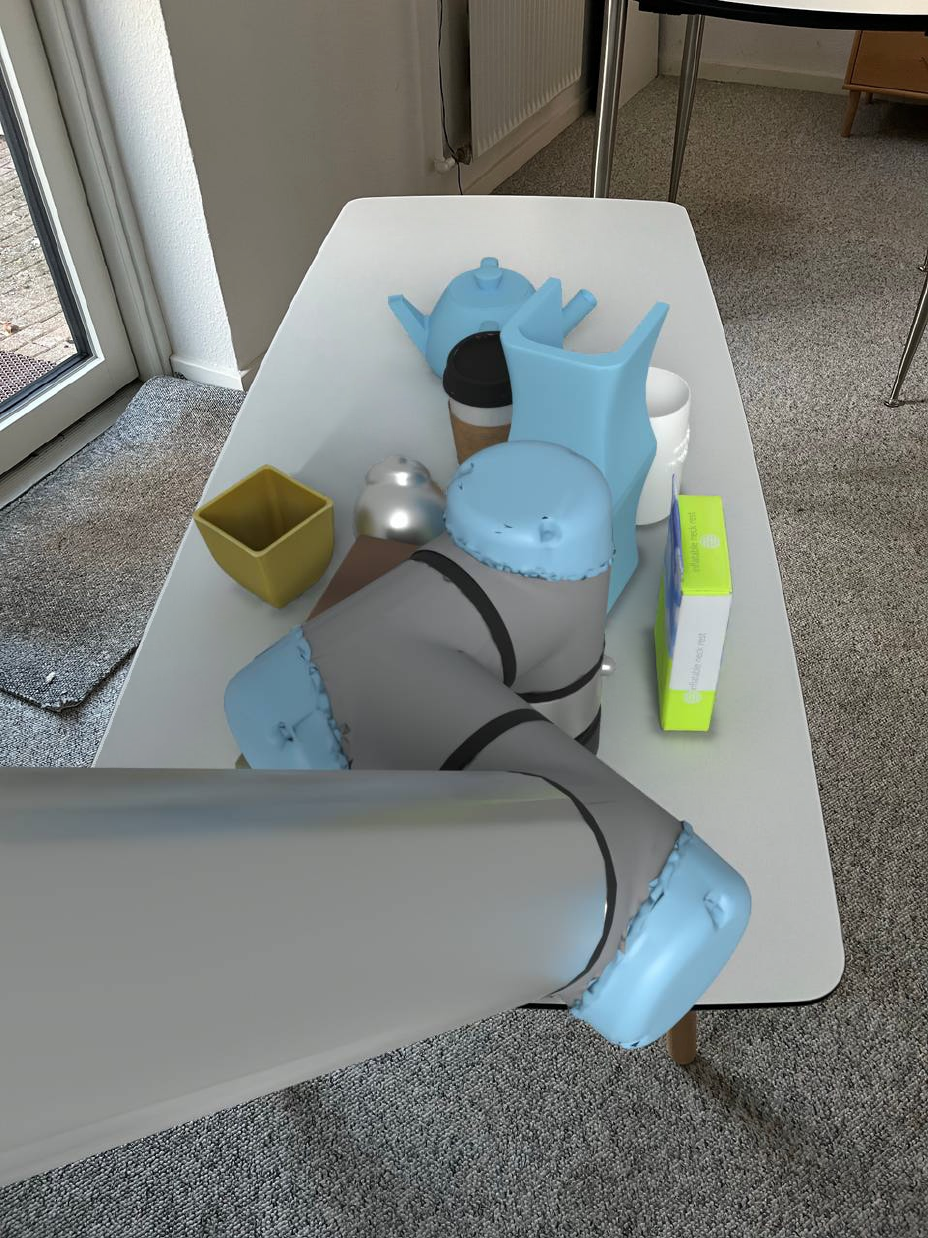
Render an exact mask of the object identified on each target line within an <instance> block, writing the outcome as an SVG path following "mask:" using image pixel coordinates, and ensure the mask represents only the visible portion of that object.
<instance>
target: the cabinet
mask: <svg viewBox="0 0 928 1238" xmlns="http://www.w3.org/2000/svg"><path fill="white" fill-rule="evenodd" d="M420 548H421V546H416V545H411V544H406V543H401V542H397V541H392V540H387V539H382V538H378V537H373V536H368V535H363V534H359V536H358V538H357V539H356V538H355V541H354V542H353V544H352V545H351V547H350V549H349V551H348V553H347V554H346V556H345V557H344V559H343V560H342V562H341V563H340V565H339V567H338V569H337V570H336V572H335V573H334V575H333V577H332V578H331V580H330V581H329V583H328V585H327V587H326V588H325V590H324V591H323V593H322V594H321V596H320V598H319V599H318V601H317V603H316V605H315V606H314V608H313V609H312V610H311V613H310V614H309V616H308V617H307V619H306V620H305V622H304V623H306V622H308V621H309V620H311V619H313V618H314V617H316V616H318V615H319V614H321V613H323V612H324V611H326V610H328V609H329V608H331V607H333V606H334V605H336V604H338V603H339V602H341V601H343V600H344V599H346V598H348V597H349V596H351V595H352V594H354V593H356V592H357V591H359V590H361V589H362V588H364V587H365V586H367V585H369V584H370V583H372V582H373V581H375V580H377V579H378V578H380V577H381V576H383V575H385V574H386V573H388V572H389V571H391V570H393V569H394V568H396V567H397V566H399V565H400V564H401V563H402V562H404V561H405V560H407V559H408V558H409V557H410V555H411V554H412V553H414V552H415V551H417V550H418V549H420Z"/></svg>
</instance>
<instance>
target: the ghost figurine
mask: <svg viewBox="0 0 928 1238" xmlns="http://www.w3.org/2000/svg"><path fill="white" fill-rule="evenodd" d="M364 477H365V479H364V480H365V481H364V482H365V485H364V487H363V488H362V489H361V490H360V492H359V493H358V495H357V497H356V499H355V501H354V505H353V509H352V515H351V525H352V531H353V535H354V537H355V540H356V539H357V538H358V536H359V534H363V535H368V536H373V537H378V538H382V539H387V540H392V541H397V542H401V543H406V544H411V545H416V546H421V547H422V546H424V545H425V544H427V543H429V542H430V541H432V540H433V539H435V538H437V537H438V536H440V535H441V534H443V533H444V532H445V530H446V526H445V521H444V520H443V519H444V518H443V511H445V509H446V495H447V494H445V492H444V491H443V489H442V488H441V487H440V486H439V484H438V483H437V482H435V481H434V480H433V479H432V477H431V473H430V471H429V469H428V468H427V467H426V465H425V464H423V463H422V462H420V461H418V460H415V459H411V458H408V457H405V456H404V455H399V454H391V455H388V456H386V458H384V459H383V460H382V461H380V462H377V463H375V464H373V465H371V466H370V467H369V468H368V470H367V471H366V474H365V476H364Z"/></svg>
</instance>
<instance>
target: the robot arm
mask: <svg viewBox="0 0 928 1238" xmlns="http://www.w3.org/2000/svg"><path fill="white" fill-rule="evenodd" d="M458 467H459V466H458ZM445 495H446V509H445V511H443V518H444V519H443V520H444V521H445V526H446V530H445V532H444V533H443V534H441V535H440V536H438V537H437V538H435V539H433V540H432V541H430V542H429V543H427V544H425V545H424V546H422V547H421V548H420V549H418V550H417V551H415V552H414V553H412V554H411V555H410V557H409V558H408V559H407V560H405V561H404V562H402V563H401V564H400V565H399V566H397V567H396V568H394V569H393V570H391V571H389V572H388V573H386V574H385V575H383V576H381V577H380V578H378V579H377V580H375V581H373V582H372V583H370V584H369V585H367V586H365V587H364V588H362V589H361V590H359V591H357V592H356V593H354V594H352V595H351V596H349V597H348V598H346V599H344V600H343V601H341V602H339V603H338V604H336V605H334V606H333V607H331V608H329V609H328V610H326V611H324V612H323V613H321V614H319V615H318V616H316V617H314V618H313V619H311V620H309V621H308V622H306V621H305V622H306V623H305V622H304V623H303V624H301V625H300V624H297V625H296V626H295V625H294V627H292V628H290V630H289V631H288V633H286V634H285V635H283V636H282V637H281V638H279V639H278V640H277V641H275V642H274V643H273V644H271V645H270V646H268V647H267V648H266V649H264V650H263V651H262V652H260V653H259V654H257V655H256V656H255V657H254V658H253V659H252V660H251V661H250V662H248V663H247V664H246V665H245V666H244V667H242V668H241V669H240V670H238V671H237V672H236V673H235V674H234V675H233V676H232V677H231V678H230V680H229V681H228V683H227V685H226V687H225V690H224V696H223V708H224V714H225V718H226V721H227V723H228V728H229V729H230V732H231V735H232V737H233V738H234V740H235V742H236V744H237V747H238V748H239V750H240V752H241V753H242V754H243V755H244V757H245V759H246V760H247V762H248V763H249V765H250V767H251V768H252V769H236V768H202V767H201V768H197V767H195V768H194V767H193V768H190V767H186V768H185V767H182V768H181V767H91V766H90V767H89V766H88V767H87V766H86V767H84V766H81V767H79V766H78V767H77V766H76V767H75V766H74V767H73V766H0V1188H3V1187H6V1186H9V1185H12V1184H15V1183H18V1182H20V1181H24V1180H27V1179H30V1178H32V1177H35V1176H37V1175H41V1174H43V1173H47V1172H49V1171H52V1170H55V1169H59V1168H60V1167H64V1166H66V1165H70V1164H72V1163H75V1162H77V1161H81V1160H84V1159H86V1158H89V1157H92V1156H94V1155H98V1154H101V1153H104V1152H106V1151H109V1150H113V1149H115V1148H118V1147H121V1146H124V1145H126V1144H129V1143H132V1142H135V1141H138V1140H141V1139H144V1138H147V1137H149V1136H150V1137H151V1136H152V1135H155V1134H157V1133H161V1132H163V1131H167V1130H169V1129H173V1128H175V1127H178V1126H181V1125H184V1124H186V1123H189V1122H192V1121H195V1120H199V1119H201V1118H203V1117H206V1116H209V1115H212V1114H215V1113H218V1112H221V1111H223V1110H226V1109H229V1108H230V1109H231V1108H232V1107H236V1106H238V1105H241V1104H244V1103H246V1102H250V1101H253V1100H255V1099H258V1098H261V1097H264V1096H266V1095H269V1094H273V1093H275V1092H278V1091H281V1090H284V1089H287V1088H290V1087H292V1086H294V1085H298V1084H301V1083H304V1082H307V1081H309V1080H313V1079H315V1078H318V1077H321V1076H324V1075H327V1074H329V1073H332V1072H336V1071H339V1070H342V1069H344V1068H347V1067H350V1066H352V1065H356V1064H358V1063H362V1062H364V1061H368V1060H369V1059H373V1058H375V1057H378V1056H382V1055H384V1054H387V1053H390V1052H394V1051H396V1050H398V1049H401V1048H404V1047H406V1046H410V1045H412V1044H416V1043H418V1042H421V1041H424V1040H427V1039H430V1038H433V1037H435V1036H438V1035H442V1034H444V1033H448V1032H450V1031H452V1030H455V1029H459V1028H461V1027H464V1026H467V1025H470V1024H473V1023H475V1022H478V1021H481V1020H484V1019H487V1018H491V1017H492V1016H495V1015H498V1014H499V1015H500V1014H501V1013H504V1012H508V1011H511V1010H513V1009H515V1008H518V1007H521V1006H525V1005H528V1004H530V1003H533V1002H535V1001H538V1000H542V999H545V998H554V996H556V995H557V996H558V997H559V998H560V999H561V1000H562V1001H563V1002H564V1004H565V1005H566V1006H567V1010H568V1012H569V1013H570V1014H571V1015H572V1016H573V1018H575V1019H579V1020H584V1022H586V1023H587V1024H588V1025H589V1026H590V1027H592V1028H593V1029H594V1030H595V1031H596V1032H597V1033H598V1034H600V1035H601V1036H602V1037H603V1038H604V1039H605V1040H607V1041H608V1042H610V1043H611V1044H613V1045H619V1046H620V1047H621V1048H622V1049H624V1050H625V1049H626V1050H632V1049H633V1050H634V1049H640V1048H643V1047H645V1046H648V1045H650V1044H652V1043H653V1042H655V1041H657V1040H658V1039H660V1038H661V1037H663V1036H664V1035H665V1034H666V1033H667V1032H668V1031H669V1030H671V1029H672V1028H673V1027H674V1026H675V1025H676V1024H678V1022H679V1021H680V1020H682V1018H684V1016H685V1015H686V1014H688V1012H690V1010H691V1009H693V1007H694V1006H695V1004H696V1003H697V1002H698V1001H699V1000H700V999H701V998H702V997H703V995H704V994H705V993H706V992H707V990H708V989H709V988H710V987H711V985H712V984H713V983H714V982H715V981H716V979H717V978H718V976H719V975H720V974H721V972H722V971H723V969H724V968H725V966H726V964H727V963H728V962H729V960H730V959H731V957H732V956H733V954H734V953H735V951H736V949H737V948H738V946H739V944H740V943H741V940H742V938H743V937H744V935H745V932H746V930H747V927H748V926H749V923H750V919H751V915H752V904H753V903H752V894H751V890H750V887H749V885H748V884H747V881H746V880H745V878H744V877H743V875H741V873H739V871H737V870H736V869H735V867H733V866H732V865H731V864H730V863H729V862H728V861H727V860H725V858H723V857H722V856H721V855H720V854H719V853H718V852H717V851H715V850H714V848H712V846H710V845H709V844H708V843H707V842H706V841H705V840H704V839H703V838H702V837H700V836H699V835H698V834H697V833H696V832H695V831H694V828H693V825H692V824H690V822H688V821H686V820H685V819H684V820H679V819H678V818H676V817H675V816H674V815H673V814H671V813H670V812H669V811H667V810H666V809H665V808H663V806H662V805H660V804H659V803H657V802H656V801H655V800H653V799H652V798H651V797H649V796H648V795H647V794H646V793H644V792H643V791H641V790H640V789H639V788H638V787H636V786H635V785H634V784H633V783H631V782H630V781H629V780H627V779H626V778H625V777H623V775H621V774H619V773H618V772H617V771H616V770H614V769H613V768H612V767H610V766H609V765H608V764H607V763H605V762H604V761H602V760H601V759H600V758H599V757H598V756H597V755H598V752H599V748H600V738H601V737H600V736H601V723H602V693H603V692H602V691H603V677H610V676H612V675H614V674H615V672H616V670H617V669H616V667H617V666H616V665H617V662H616V660H615V659H614V658H613V657H611V656H605V651H606V633H605V632H606V622H607V616H606V613H607V604H608V594H609V585H610V575H611V566H612V564H613V560H614V559H615V552H616V548H615V544H614V540H613V518H612V496H611V491H610V488H609V485H608V482H607V480H606V479H605V477H604V475H603V474H602V472H601V471H600V470H599V468H598V467H597V466H596V465H595V464H593V463H592V462H591V461H590V460H589V459H587V458H585V457H584V456H582V455H579V454H577V453H576V452H574V451H573V450H571V449H570V448H568V447H565V446H562V445H559V444H555V443H551V442H546V441H537V440H518V441H510V442H504V443H499V444H496V445H493V446H490V447H487V448H485V449H483V450H481V451H479V452H477V453H475V454H474V455H472V456H471V457H469V458H468V459H467V460H465V461H464V462H463V463H462V464H461V465H460V467H459V468H458V469H457V471H456V472H455V473H454V475H453V476H452V478H451V480H450V482H449V484H448V486H447V489H446V494H445Z"/></svg>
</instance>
